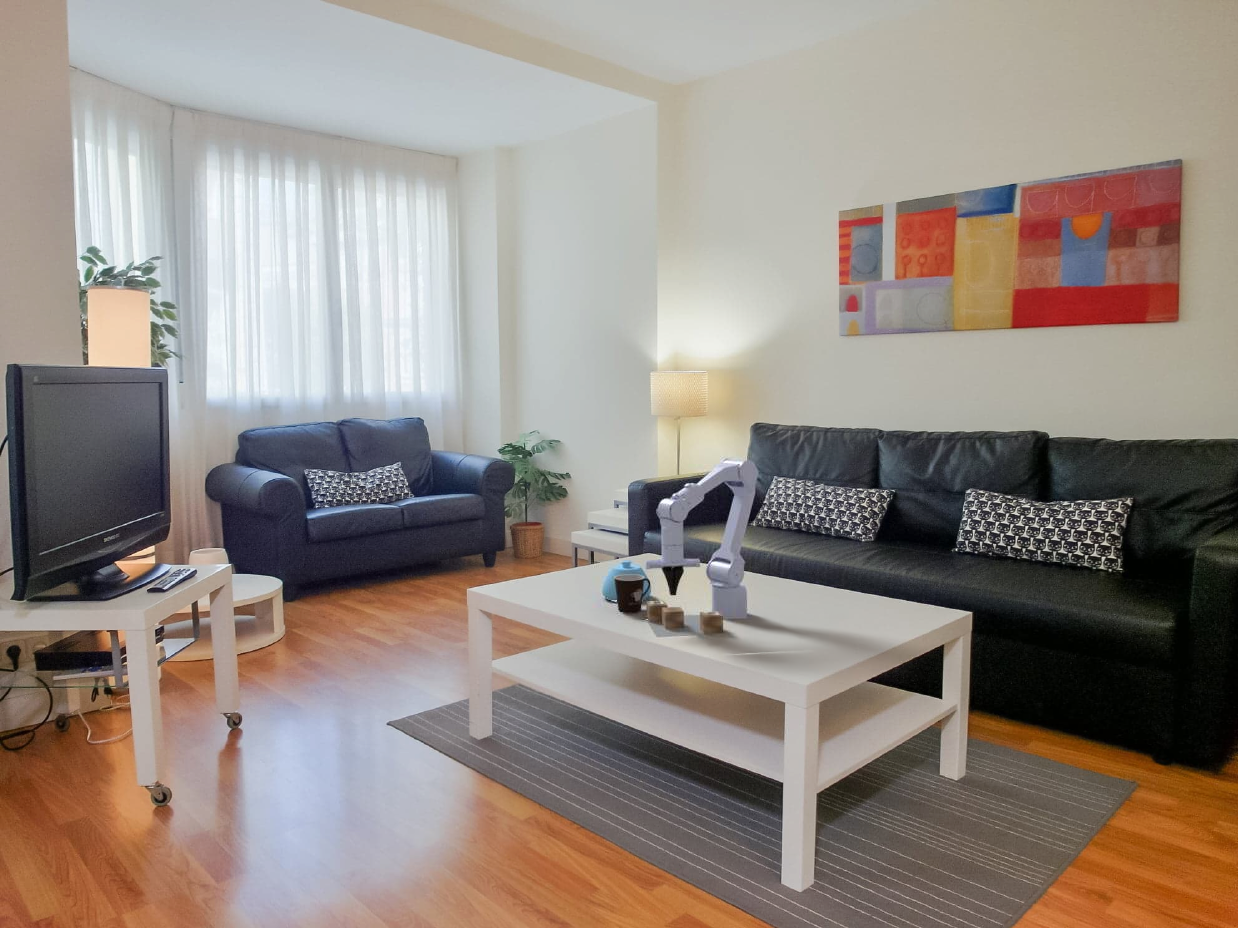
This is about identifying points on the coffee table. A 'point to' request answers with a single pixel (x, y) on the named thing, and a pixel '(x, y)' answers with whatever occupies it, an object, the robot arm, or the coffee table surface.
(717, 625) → the labelled block
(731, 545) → the robot arm
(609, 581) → the sugar bowl
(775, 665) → the coffee table surface
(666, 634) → the grey mat
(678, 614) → the plain block
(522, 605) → the coffee table surface
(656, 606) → the labelled block
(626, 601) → the coffee mug
